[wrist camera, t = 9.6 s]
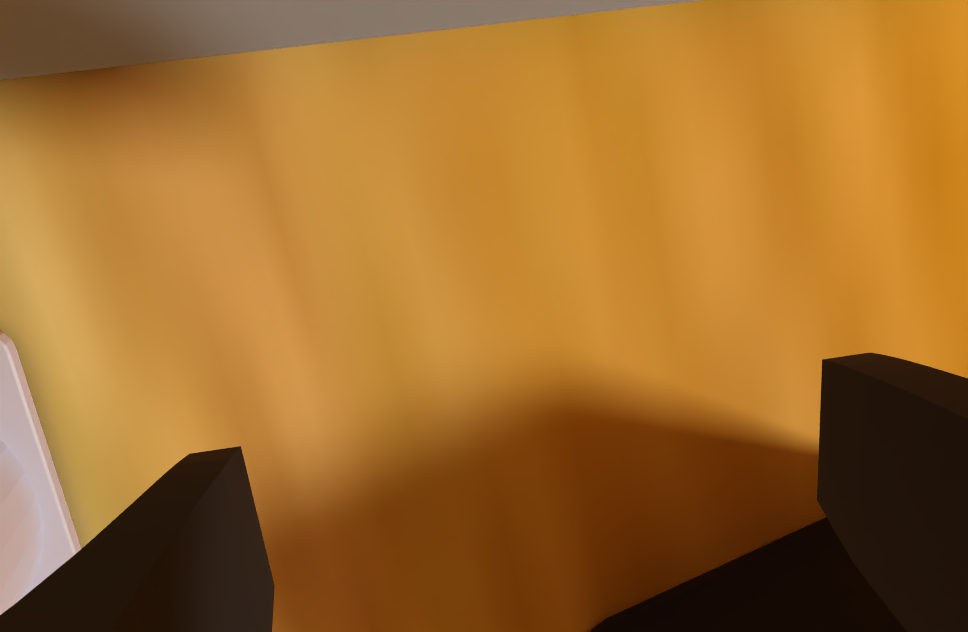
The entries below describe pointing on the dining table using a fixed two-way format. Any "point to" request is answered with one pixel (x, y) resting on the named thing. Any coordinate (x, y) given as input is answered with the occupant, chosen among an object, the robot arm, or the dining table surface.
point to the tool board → (234, 26)
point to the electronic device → (769, 594)
